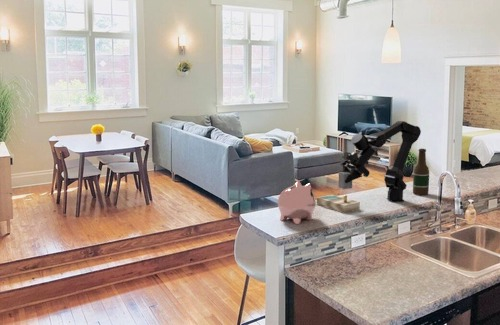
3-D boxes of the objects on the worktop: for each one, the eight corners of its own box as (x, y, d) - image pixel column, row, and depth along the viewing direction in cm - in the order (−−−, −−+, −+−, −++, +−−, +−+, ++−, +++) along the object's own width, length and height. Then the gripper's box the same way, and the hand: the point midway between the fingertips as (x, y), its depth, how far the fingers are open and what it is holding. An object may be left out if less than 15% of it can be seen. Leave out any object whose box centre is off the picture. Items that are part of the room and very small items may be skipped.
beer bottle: (412, 195, 248) (413, 149, 244) (413, 191, 256) (414, 147, 251) (428, 196, 246) (430, 150, 241) (428, 192, 253) (430, 148, 248)
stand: (359, 209, 224) (359, 201, 224) (344, 212, 219) (344, 205, 218) (331, 201, 240) (331, 194, 239) (316, 204, 235) (316, 197, 234)
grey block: (347, 186, 226) (347, 171, 225) (352, 188, 222) (352, 173, 221) (338, 187, 225) (338, 172, 224) (343, 189, 221) (343, 174, 219)
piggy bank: (323, 218, 212) (324, 183, 209) (297, 227, 200) (297, 190, 197) (297, 211, 223) (297, 178, 220) (271, 220, 211) (270, 185, 208)
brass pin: (346, 201, 226) (346, 195, 225) (347, 202, 224) (347, 196, 224) (343, 201, 225) (343, 195, 225) (344, 202, 224) (344, 196, 223)
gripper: (343, 142, 230) (322, 167, 229) (364, 148, 213) (342, 174, 211) (357, 157, 234) (337, 181, 232) (378, 163, 216) (357, 189, 215)
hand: (342, 181), depth 223 cm, fingers closed on grey block, 5 cm apart
